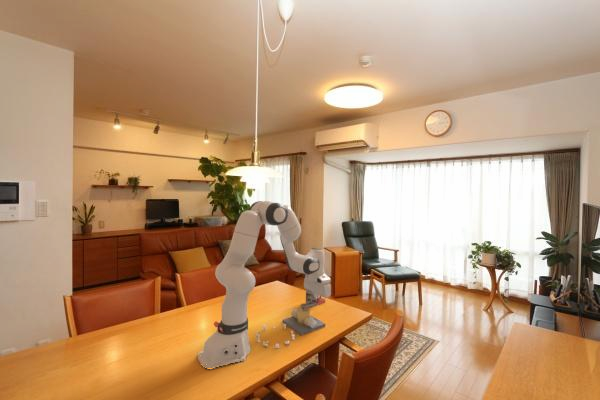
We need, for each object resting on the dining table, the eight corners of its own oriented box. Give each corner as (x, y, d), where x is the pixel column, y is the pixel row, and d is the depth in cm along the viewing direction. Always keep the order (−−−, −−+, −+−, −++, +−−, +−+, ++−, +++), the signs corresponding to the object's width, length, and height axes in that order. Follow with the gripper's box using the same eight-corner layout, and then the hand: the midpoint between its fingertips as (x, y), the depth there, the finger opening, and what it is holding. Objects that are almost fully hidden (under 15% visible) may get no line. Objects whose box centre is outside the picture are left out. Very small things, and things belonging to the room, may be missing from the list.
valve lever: (303, 309, 145) (303, 306, 145) (299, 307, 148) (299, 304, 148) (325, 303, 155) (325, 299, 154) (321, 301, 157) (321, 297, 157)
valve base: (301, 335, 136) (301, 317, 136) (282, 322, 150) (282, 306, 150) (325, 326, 146) (325, 309, 145) (305, 314, 159) (305, 299, 159)
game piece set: (250, 333, 139) (250, 326, 139) (286, 325, 148) (286, 317, 148) (263, 353, 121) (263, 345, 121) (302, 342, 131) (303, 334, 130)
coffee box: (313, 306, 170) (313, 281, 170) (305, 304, 174) (305, 279, 174) (321, 302, 177) (321, 277, 177) (313, 299, 181) (313, 275, 181)
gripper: (301, 272, 163) (301, 295, 163) (324, 282, 146) (324, 307, 147) (309, 270, 166) (309, 293, 167) (333, 279, 150) (332, 304, 150)
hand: (316, 300), depth 157 cm, fingers closed
